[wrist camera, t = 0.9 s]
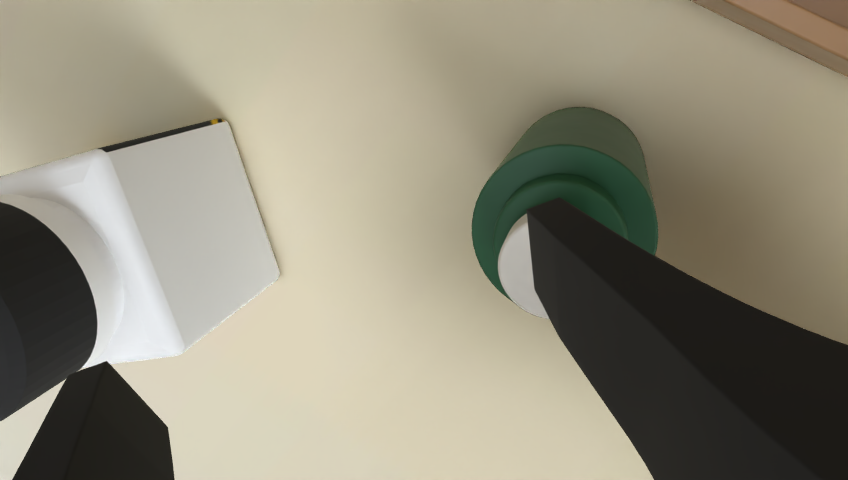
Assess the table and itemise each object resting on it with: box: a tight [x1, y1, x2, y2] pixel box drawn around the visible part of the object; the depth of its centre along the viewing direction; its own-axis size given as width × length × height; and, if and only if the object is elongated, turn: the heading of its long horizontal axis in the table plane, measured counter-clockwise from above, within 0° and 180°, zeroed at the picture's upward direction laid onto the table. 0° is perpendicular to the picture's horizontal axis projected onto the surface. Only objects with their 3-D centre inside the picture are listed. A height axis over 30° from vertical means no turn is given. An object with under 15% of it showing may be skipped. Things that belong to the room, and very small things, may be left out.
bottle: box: [472, 107, 658, 319], centre depth 18 cm, size 5×5×9 cm
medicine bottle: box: [0, 119, 280, 421], centre depth 22 cm, size 7×7×12 cm
